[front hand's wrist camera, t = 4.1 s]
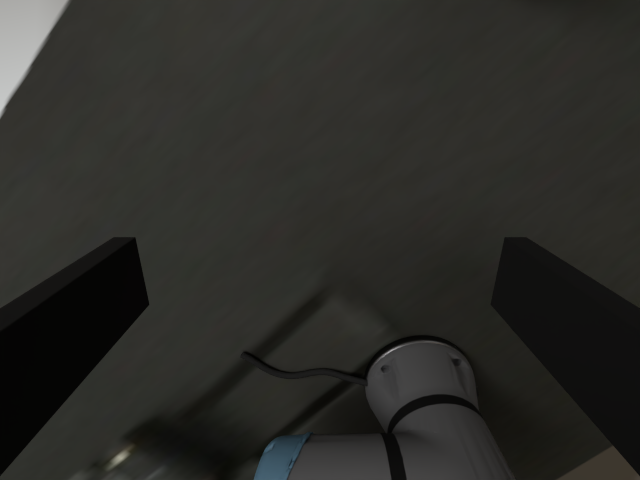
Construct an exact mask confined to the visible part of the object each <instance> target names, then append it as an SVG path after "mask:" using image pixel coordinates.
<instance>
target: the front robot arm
mask: <svg viewBox="0 0 640 480" xmlns="http://www.w3.org/2000/svg"><path fill="white" fill-rule="evenodd" d="M148 305H149V301H148V296H147V291H146V286H145V282H144V277H143V272H142V267H141V262H140V258H139V253H138V248H137V243H136V239H135V237H114V238H112V239H110V240H109V241H107V242H106V243H104V244H102V245H101V246H99V247H98V248H96V249H94V250H93V251H91V252H90V253H88V254H86V255H85V256H83V257H82V258H80V259H78V260H77V261H75V262H74V263H72V264H70V265H69V266H67V267H66V268H64V269H62V270H61V271H59V272H58V273H56V274H54V275H53V276H51V277H50V278H48V279H47V280H45V281H43V282H42V283H40V284H39V285H37V286H35V287H34V288H32V289H31V290H29V291H27V292H26V293H24V294H23V295H21V296H19V297H18V298H16V299H15V300H13V301H11V302H10V303H8V304H7V305H5V306H3V307H2V308H0V476H1V474H2V473H3V472H4V471H5V470H6V469H7V467H8V466H9V465H10V464H11V463H12V462H13V461H14V459H15V458H16V457H17V456H18V455H19V454H20V453H21V451H22V450H23V449H24V448H25V447H26V446H27V445H28V443H29V442H30V441H31V440H32V439H33V438H34V436H35V435H36V434H37V433H38V432H39V431H40V430H41V428H42V427H43V426H44V425H45V424H46V423H47V422H48V420H49V419H50V418H51V417H52V416H53V415H54V413H55V412H56V411H57V410H58V409H59V408H60V407H61V405H62V404H63V403H64V402H65V401H66V400H67V399H68V397H69V396H70V395H71V394H72V393H73V392H74V390H75V389H76V388H77V387H78V386H79V385H80V384H81V382H82V381H83V380H84V379H85V378H86V377H87V376H88V374H89V373H90V372H91V371H92V370H93V369H94V367H95V366H96V365H97V364H98V363H99V362H100V361H101V359H102V358H103V357H104V356H105V355H106V354H107V353H108V351H109V350H110V349H111V348H112V347H113V346H114V345H115V343H116V342H117V341H118V340H119V339H120V338H121V336H122V335H123V334H124V333H125V332H126V331H127V330H128V328H129V327H130V326H131V325H132V324H133V323H134V322H135V320H136V319H137V318H138V317H139V316H140V315H141V313H142V312H143V311H144V310H145V309H146V308H147V307H148ZM491 305H492V307H493V308H494V309H495V310H496V311H497V312H498V313H499V315H500V316H501V317H502V318H503V319H504V320H505V322H506V323H507V324H508V325H509V326H510V327H511V328H512V330H513V331H514V332H515V333H516V334H517V335H518V336H519V338H520V339H521V340H522V341H523V342H524V343H525V345H526V346H527V347H528V348H529V349H530V350H531V351H532V353H533V354H534V355H535V356H536V357H537V358H538V359H539V361H540V362H541V363H542V364H543V365H544V366H545V368H546V369H547V370H548V371H549V372H550V373H551V374H552V376H553V377H554V378H555V379H556V380H557V381H558V382H559V384H560V385H561V386H562V387H563V388H564V389H565V390H566V392H567V393H568V394H569V395H570V396H571V397H572V399H573V400H574V401H575V402H576V403H577V404H578V405H579V407H580V408H581V409H582V410H583V411H584V412H585V413H586V415H587V416H588V417H589V418H590V419H591V420H592V422H593V423H594V424H595V425H596V426H597V427H598V428H599V430H600V431H601V432H602V433H603V434H604V435H605V436H606V438H607V439H608V440H609V441H610V442H611V443H612V445H613V446H614V447H615V448H616V449H617V450H618V451H619V453H620V454H621V455H622V456H623V457H624V458H625V459H626V461H627V462H628V463H629V464H630V465H631V466H632V467H633V469H634V470H635V471H636V472H637V473H638V474H639V476H640V308H638V307H637V306H635V305H633V304H632V303H630V302H629V301H627V300H625V299H624V298H622V297H621V296H619V295H617V294H616V293H614V292H613V291H611V290H609V289H608V288H606V287H605V286H603V285H601V284H600V283H598V282H597V281H595V280H593V279H592V278H590V277H589V276H587V275H586V274H584V273H582V272H581V271H579V270H578V269H576V268H574V267H573V266H571V265H570V264H568V263H566V262H565V261H563V260H562V259H560V258H558V257H557V256H555V255H554V254H552V253H550V252H549V251H547V250H546V249H544V248H542V247H541V246H539V245H538V244H536V243H534V242H533V241H531V240H530V239H528V238H526V237H505V238H504V243H503V248H502V253H501V258H500V262H499V267H498V272H497V277H496V282H495V286H494V291H493V296H492V301H491ZM241 358H243V359H245V360H247V361H248V362H250V363H251V364H253V365H255V366H256V367H258V368H259V369H261V370H263V371H264V372H266V373H268V374H271V375H273V376H276V377H280V378H286V379H297V378H303V377H308V376H313V375H329V376H333V377H336V378H339V379H342V380H345V381H349V382H352V383H356V384H360V385H364V386H365V393H366V397H367V400H368V403H369V405H370V407H371V409H372V411H373V413H374V414H375V416H376V418H377V419H378V421H379V423H380V424H381V426H382V428H383V429H384V431H385V433H367V434H313V432H308V433H306V434H304V435H290V436H280V437H277V438H275V439H274V440H273V441H271V442H270V443H269V445H268V446H267V447H266V449H265V451H264V453H263V455H262V457H261V459H260V462H259V465H258V468H257V471H256V474H255V478H254V480H516V479H515V477H514V475H513V473H512V471H511V470H510V468H509V466H508V464H507V462H506V460H505V458H504V457H503V455H502V453H501V451H500V449H499V447H498V445H497V443H496V442H495V440H494V438H493V436H492V434H491V432H490V430H489V429H488V427H487V425H486V423H485V421H484V419H483V418H482V416H481V414H480V412H479V407H478V400H477V398H478V395H479V393H478V387H477V389H476V384H475V378H474V374H473V371H472V368H471V366H470V364H469V362H468V360H467V359H466V357H465V355H464V354H463V353H462V351H461V350H460V349H459V348H458V347H456V346H455V345H454V344H452V343H450V342H448V341H446V340H444V339H441V338H438V337H433V336H412V337H407V338H403V339H400V340H397V341H395V342H392V343H390V344H389V345H387V346H385V347H384V348H383V349H381V350H380V351H379V352H378V353H377V354H376V355H375V356H374V357H373V358H372V360H371V361H370V363H369V364H368V366H367V369H366V371H365V376H364V379H362V378H358V377H354V376H350V375H347V374H343V373H341V372H338V371H334V370H330V369H313V370H307V371H302V372H296V373H287V372H281V371H278V370H275V369H272V368H270V367H268V366H266V365H265V364H263V363H261V362H260V361H258V360H257V359H255V358H254V357H252V356H250V355H249V354H247V353H245V352H243V353H242V355H241Z"/></svg>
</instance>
